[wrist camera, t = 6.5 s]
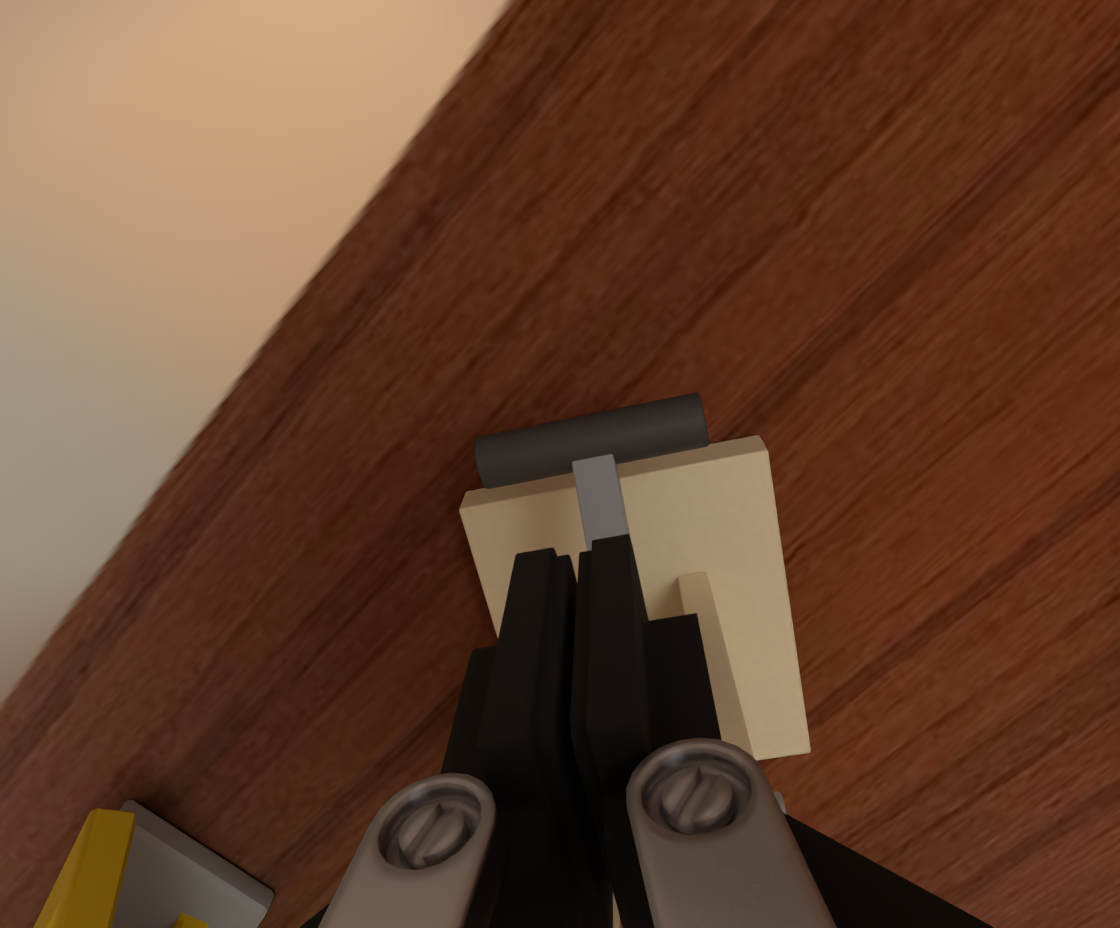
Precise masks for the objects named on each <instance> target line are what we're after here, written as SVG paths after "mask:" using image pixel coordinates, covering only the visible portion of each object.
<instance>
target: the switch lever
mask: <svg viewBox="0 0 1120 928" xmlns="http://www.w3.org/2000/svg"><path fill="white" fill-rule="evenodd" d="M708 445H709V439H708V432H707V426H706V421H705V416H704V411H703V406H702V402H701V398H700V395H699V394H698V393H692V394H687V395H682V396H677V397H672V398H667V399H662V400H657V401H652V402H647V403H642V404H637V405H632V406H627V407H623V408H618V409H613V410H608V411H603V412H598V413H593V414H588V415H583V416H578V417H573V418H568V419H563V420H558V421H554V422H549V423H544V424H539V425H534V426H529V427H524V428H519V429H514V430H509V431H504V432H499V433H494V434H489V435H485V436H480V437H477V438H476V439H475V445H474V451H475V460H476V466H477V470H478V473H479V477H480V479H481V482H482V484H483V486H484V487H485V488H486V489H492V488H497V487H503V486H508V485H513V484H518V483H523V482H528V481H533V480H539V479H544V478H549V477H554V476H559V475H564V474H570V473H573V474H574V480H575V485H576V491H577V497H578V503H579V508H580V514H581V520H582V525H583V531H584V537H585V542H586V548H587V551H590V550H591V549H592V540H596V539H602V538H607V537H613V536H619V535H624V534H629V535H630V532H629V526H628V521H627V515H626V510H625V505H624V499H623V494H622V489H621V483H620V478H619V472H618V467H617V464H621V463H626V462H632V461H637V460H642V459H647V458H652V457H657V456H662V455H668V454H673V453H678V452H683V451H688V450H693V449H699V448H704V447H708ZM630 538H631V537H630Z"/></svg>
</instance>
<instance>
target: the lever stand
mask: <svg viewBox="0 0 1120 928" xmlns="http://www.w3.org/2000/svg"><path fill="white" fill-rule="evenodd" d="M617 467H618V472H619V478H620V483H621V489H622V494H623V499H624V505H625V510H626V515H627V521H628V526H629V532H630V537H631V542H632V546H633V551H634V555H635V560H636V564H637V569H638V574H639V578H640V583H641V587H642V592H643V596H644V601H645V606H646V610H647V615H648V619H649V621H650V620H656V619H662V618H669V617H675V616H681V615H687V614H693V613H697V616H698V621H699V626H700V631H701V636H702V641H703V646H704V652H705V657H706V662H707V667H708V672H709V677H710V682H711V687H712V693H713V698H714V703H715V708H716V713H717V718H718V723H719V728H720V734H721V739H722V741H725V742H728V743H731V744H733V745H736V746H739V747H740V748H741V749H743V750H744V751H746V752H747V753H748V754H750V755H751V756H753V757H754V759H755V760H763V759H770V758H777V757H784V756H791V755H798V754H805V753H810V751H811V748H810V741H809V734H808V727H807V720H806V713H805V706H804V699H803V692H802V685H801V678H800V671H799V664H798V657H797V650H796V643H795V636H794V629H793V622H792V615H791V608H790V601H789V594H788V587H787V580H786V573H785V566H784V559H783V552H782V545H781V538H780V531H779V524H778V517H777V510H776V503H775V496H774V489H773V482H772V475H771V468H770V461H769V454H768V450H767V449H766V447H765V445H764V443H763V441H762V440H761V438H760V436H759V435H755V436H750V437H744V438H739V439H734V440H729V441H724V442H719V443H714V444H709V445H708V447H704V448H699V449H693V450H688V451H683V452H678V453H673V454H668V455H662V456H657V457H652V458H647V459H642V460H637V461H632V462H626V463H621V464H617ZM459 512H460V515H461V519H462V522H463V525H464V529H465V532H466V535H467V539H468V542H469V545H470V548H471V552H472V555H473V558H474V562H475V565H476V568H477V572H478V575H479V578H480V582H481V585H482V588H483V592H484V595H485V598H486V601H487V605H488V608H489V611H490V615H491V618H492V621H493V625H494V628H495V631H496V635H497V638H498V637H499V632H500V627H501V623H502V618H503V613H504V608H505V603H506V598H507V593H508V589H509V584H510V579H511V574H512V569H513V564H514V559H515V556H516V554H517V553H523V552H528V551H534V550H540V549H545V548H551V547H553V548H554V549H555V551H556V554H557V556H561V555H567V554H569V555H570V558H571V560H572V564H573V568H574V572H575V576H576V580H577V582H578V564H579V552H584V551H587V548H586V542H585V537H584V531H583V525H582V520H581V514H580V508H579V503H578V497H577V491H576V485H575V480H574V474H573V473H570V474H564V475H559V476H554V477H549V478H544V479H539V480H533V481H528V482H523V483H518V484H513V485H508V486H503V487H497V488H492V489H486V488H482V489H477V490H471V491H467V492H466V493H465V496H464V498H463V501H462V503H461V506H460V508H459ZM774 795H775V797H776V799H777V801H778V803H779V805H780V807H781V810H782V812H783V813H785V814H787V813H786V809H785V805H784V801H783V798H782V795H781V793H780V792H778V791H777V792H774ZM613 928H620V921H619V911H618V908H617V904H616V901H615V897H614V894H613Z"/></svg>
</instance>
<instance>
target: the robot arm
mask: <svg viewBox="0 0 1120 928" xmlns="http://www.w3.org/2000/svg"><path fill="white" fill-rule="evenodd" d="M613 894H614V897H615V901H616V904H617V908H618V911H619V915H620V919H621V922H622V926H623V928H993V927H992V926H990V925H989V924H987V923H985V922H983V921H981V920H979V919H978V918H976V917H974V916H972V915H970V914H968V913H967V912H965V911H963V910H961V909H959V908H957V907H956V906H954V905H952V904H950V903H948V902H946V901H945V900H943V899H941V898H939V897H937V896H935V895H934V894H932V893H930V892H928V891H926V890H924V889H923V888H921V887H919V886H917V885H915V884H913V883H912V882H910V881H908V880H906V879H904V878H902V877H901V876H899V875H897V874H895V873H893V872H891V871H890V870H888V869H886V868H884V867H882V866H880V865H879V864H877V863H875V862H873V861H871V860H869V859H868V858H866V857H864V856H862V855H860V854H858V853H857V852H855V851H853V850H851V849H849V848H847V847H846V846H844V845H842V844H840V843H838V842H836V841H835V840H833V839H831V838H829V837H827V836H825V835H824V834H822V833H820V832H818V831H816V830H814V829H813V828H811V827H809V826H807V825H805V824H803V823H802V822H800V821H798V820H796V819H794V818H792V817H791V816H789V815H787V814H785V813H783V812H782V810H781V807H780V805H779V803H778V801H777V799H776V797H775V795H774V792H773V790H772V788H771V786H770V784H769V782H768V780H767V777H766V775H765V773H764V771H763V770H762V768H761V767H760V766H759V764H758V763H757V761H756V760H755V759H754V757H753V756H751V755H750V754H748V753H747V752H746V751H744V750H743V749H741V748H740V747H739V746H736V745H733V744H731V743H728V742H725V741H722V739H721V734H720V728H719V723H718V718H717V713H716V708H715V703H714V698H713V693H712V687H711V682H710V677H709V672H708V667H707V662H706V657H705V652H704V646H703V641H702V636H701V631H700V626H699V621H698V616H697V613H693V614H687V615H681V616H675V617H669V618H662V619H656V620H650V621H649V619H648V615H647V610H646V606H645V601H644V596H643V592H642V587H641V583H640V578H639V574H638V569H637V564H636V560H635V555H634V551H633V546H632V542H631V538H630V535H629V534H624V535H619V536H613V537H607V538H602V539H596V540H592V549H591V550H590V551H584V552H579V564H578V582H577V580H576V576H575V572H574V568H573V564H572V560H571V558H570V555H569V554H567V555H561V556H557V554H556V551H555V549H554V548H553V547H551V548H545V549H540V550H534V551H528V552H523V553H517V554H516V556H515V559H514V564H513V569H512V574H511V579H510V584H509V589H508V593H507V598H506V603H505V608H504V613H503V618H502V623H501V627H500V632H499V637H498V642H497V645H496V646H490V647H484V648H477V649H475V650H473V651H472V654H471V656H470V659H469V663H468V667H467V671H466V675H465V679H464V683H463V687H462V691H461V695H460V699H459V703H458V707H457V711H456V715H455V719H454V723H453V727H452V730H451V734H450V738H449V742H448V746H447V750H446V754H445V758H444V762H443V766H442V770H441V774H438V775H432V776H430V777H427V778H424V779H422V780H419V781H416V782H414V783H412V784H410V785H409V786H407V787H406V788H404V789H402V790H401V791H399V792H398V793H396V794H395V795H394V796H393V797H392V798H391V799H390V800H388V801H387V802H386V803H385V804H384V805H383V806H382V807H381V808H380V810H379V811H378V813H377V814H376V816H375V817H374V819H373V820H372V821H371V823H370V825H369V827H368V829H367V831H366V833H365V835H364V837H363V839H362V841H361V843H360V845H359V847H358V849H357V851H356V853H355V855H354V857H353V859H352V861H351V863H350V865H349V867H348V869H347V871H346V873H345V875H344V877H343V879H342V881H341V883H340V885H339V887H338V889H337V891H336V893H335V895H334V897H333V899H332V901H331V903H329V904H328V905H327V906H326V907H324V908H323V909H322V910H321V911H319V912H318V913H317V914H316V915H315V916H313V917H312V918H311V919H310V920H308V921H307V922H306V923H305V924H303V925H302V926H301V927H300V928H613Z"/></svg>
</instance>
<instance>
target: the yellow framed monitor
mask: <svg viewBox="0 0 1120 928" xmlns="http://www.w3.org/2000/svg"><path fill="white" fill-rule="evenodd" d="M273 898H274V894H273V892H272V890H270V889H269V888H267V887H266V886H264V885H263V884H261V883H260V882H258V881H257V880H255V879H254V878H252V877H250V876H249V875H247V874H246V873H244V872H243V871H241V870H240V869H238V868H237V867H235V866H234V865H232V864H230V863H229V862H227V861H226V860H224V859H223V858H221V857H220V856H218V855H217V854H215V853H214V852H212V851H211V850H209V849H207V848H206V847H204V846H203V845H201V844H200V843H198V842H197V841H195V840H194V839H192V838H191V837H189V836H187V835H186V834H184V833H183V832H181V831H180V830H178V829H177V828H175V827H174V826H172V825H171V824H169V823H167V822H166V821H164V820H163V819H161V818H160V817H158V816H157V815H155V814H154V813H152V812H151V811H149V810H147V809H146V808H144V807H143V806H141V805H140V804H138V803H137V802H135V801H134V800H129V801H125V803H124V804H123V806H122V807H121V808H120V810H111V809H102V808H96V809H94V810H93V811H91V812H90V813H89V815H88V817H87V819H86V821H85V823H84V825H83V827H82V829H81V831H80V833H79V835H78V838H77V840H76V842H75V844H74V846H73V848H72V850H71V852H70V854H69V856H68V858H67V860H66V862H65V864H64V866H63V868H62V870H61V872H60V874H59V876H58V878H57V880H56V882H55V884H54V887H53V889H52V891H51V893H50V895H49V897H48V899H47V901H46V903H45V905H44V907H43V909H42V911H41V913H40V915H39V917H38V919H37V921H36V923H35V925H34V927H33V928H257V927H258V925H259V924H260V922H261V921H262V919H263V918H264V916H265V915H266V913H267V911H268V909H269V907H270V904H271V902H272V900H273Z"/></svg>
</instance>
